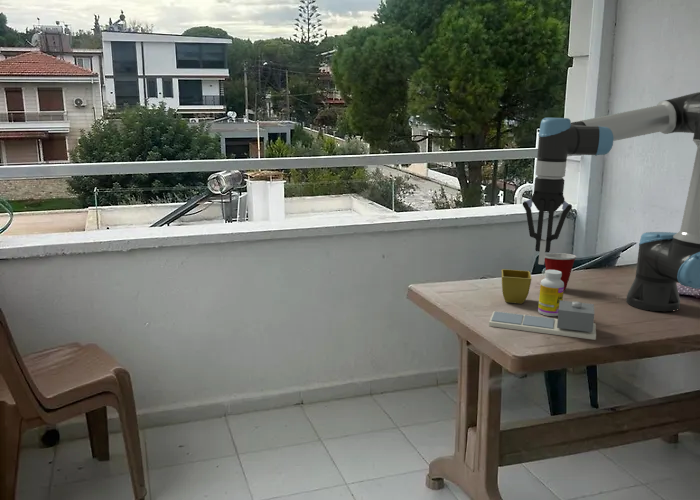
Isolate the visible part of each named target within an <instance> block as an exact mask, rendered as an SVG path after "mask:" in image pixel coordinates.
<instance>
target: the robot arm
mask: <svg viewBox="0 0 700 500" xmlns="http://www.w3.org/2000/svg"><path fill="white" fill-rule="evenodd" d="M656 133H662V134H664V135H668V134H673V133H685V134H686V133H687V134H688V133H689V134H693V137H692V141H693V142H694V144H695V145H696V147H697V149H696V153H695V158H694V163H693V166H692V167H693V168H692V173H691V177H690V181H689V186H688V192H687V197H686V202H685V206H684V210H683V211H684V212H683V216H682V220H681V225H680V230H679V231H678V232H671V231H669V232H668V231H647V232H644V233H642V234H641V236H640V240H639V243H638V254H637V255H638V256H637V262H636V270H635V271H636V272H635V277H634V279H633V282H632V283H631V286H630V287H629V290H628V292H627V294H626V299H625V302H626V303H627V304H628V305H630V306H631V307H633V308H636V309H640V310H645V311H648V310H650V311H649V312H655V311H673V310H677V309H679V310H680V306H681V299H680V293H679V289H678V285H677V283H678V284H680V285H681V286H684V287H687V288H692V289H695V290H699V289H700V91H699V92H698V91H697V92H693V93H690V94H685V95H682V96H677V97H673V98H670V99H665V100H661V101H659V102H658V103H657V104H656V105H653V106H649V107H643V108H638V109H633V110H628V111H623V112H618V113H613V114H607V115H602V116H598V117H593V118H586V119H582V120H579V121H578V120H576V121H572V122H571V119H570V118H567V117H544V118H542V119H541V120H540V126H539V132H538V143H537V145H538V146H537V157H536V163H535V164H536V165H535V176H536V177H535V178H534V187H533V194H532V195H531V197H530V198H529V199H527V200H523V202H522V207H523V209H524V210H525V214H526V220H527V227H528V233H529V236H530V238H533V239H535V252H538V262H537V263H538V265H540V266H541V265H543V266H545V254H546V253H550V252H551V244H552V243H551V242H552V241H555V240H558V239H559V237H560V234H561V231H562V229H563V226H564V224H565V220H566V218H567V216H568V213H569V212H570V211H571V210H572V208H573V204H571V203H568V202H567V201H566V200H565V196H564V190H565V179H564V177H565V176H566V170H567V160H568V156H569V155H570V156H571V155H577V156H594V157H595V156H596V157H597V156H604V155H607V154H609V153H610V152H611V150H612V148H613V146H614V142H615V141H621V140H626V139H631V138H635V137H640V136H645V135H651V134H656ZM533 205H534V206H535V208H536V210H537V211H538V219H537V228H536V232H535V227H534V226H535V225H534V220H533V211H532V207H533ZM561 206H562V208H561V209H562V212H561V215H560V218H559V220H558V223H557V226H556V228H555V231H554V234H553V225H554V215H555V212H556V211H557V210H559V208H560V207H561ZM545 212H548V218H547V219H548V220H547V228H546V229H547V230H546V238H542V236H543V235H542V234H543V225H544V217H545V216H544V213H545ZM677 311H678V310H677ZM673 312H674V311H673Z"/></svg>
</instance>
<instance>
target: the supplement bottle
mask: <svg viewBox="0 0 700 500" xmlns="http://www.w3.org/2000/svg"><path fill="white" fill-rule="evenodd" d="M544 276H545V277H544V278H543V279H541V281H540V284H539V285H540V286H539V295H538V306H537V307H538V308H537V312H538V313H539V314H540V315H542V316H547V317H558V312H559V302H560V300H561V301H564V300H563V299H564V292H565V291H564V282H563V281H562V280H560V278H561V276H562V272H561V271H558V270H546V269H545V271H544Z"/></svg>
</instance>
